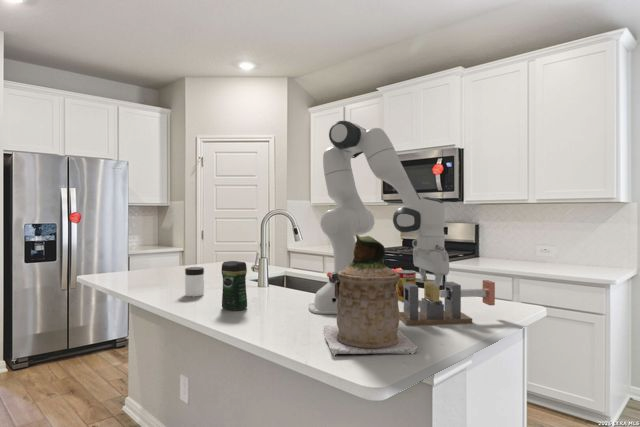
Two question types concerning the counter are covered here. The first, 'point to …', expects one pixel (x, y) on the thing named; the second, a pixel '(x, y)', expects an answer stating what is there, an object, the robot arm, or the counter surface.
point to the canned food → (405, 281)
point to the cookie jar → (367, 305)
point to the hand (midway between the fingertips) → (429, 283)
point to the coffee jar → (234, 285)
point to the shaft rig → (433, 307)
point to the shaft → (476, 292)
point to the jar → (194, 281)
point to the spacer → (431, 291)
